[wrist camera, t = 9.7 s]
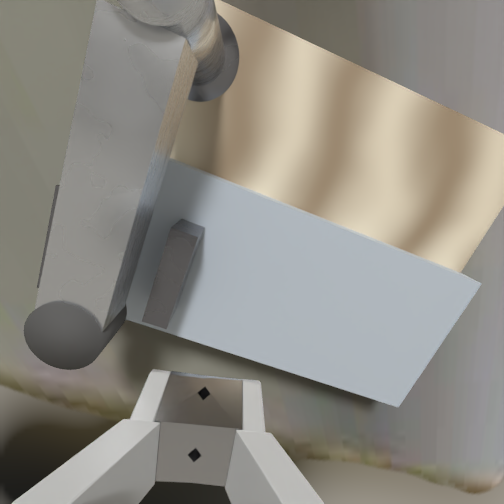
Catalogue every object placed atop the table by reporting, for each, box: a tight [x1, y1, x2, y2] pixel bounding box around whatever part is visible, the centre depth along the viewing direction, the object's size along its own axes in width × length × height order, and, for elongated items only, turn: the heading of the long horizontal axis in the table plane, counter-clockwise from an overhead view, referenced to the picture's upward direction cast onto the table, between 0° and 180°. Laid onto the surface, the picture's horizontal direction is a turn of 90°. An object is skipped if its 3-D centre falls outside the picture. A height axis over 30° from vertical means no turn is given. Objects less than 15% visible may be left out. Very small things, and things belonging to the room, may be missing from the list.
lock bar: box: [24, 0, 225, 370], centre depth 14 cm, size 18×3×8 cm, turn 158°
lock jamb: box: [37, 0, 504, 407], centre depth 18 cm, size 26×20×6 cm
